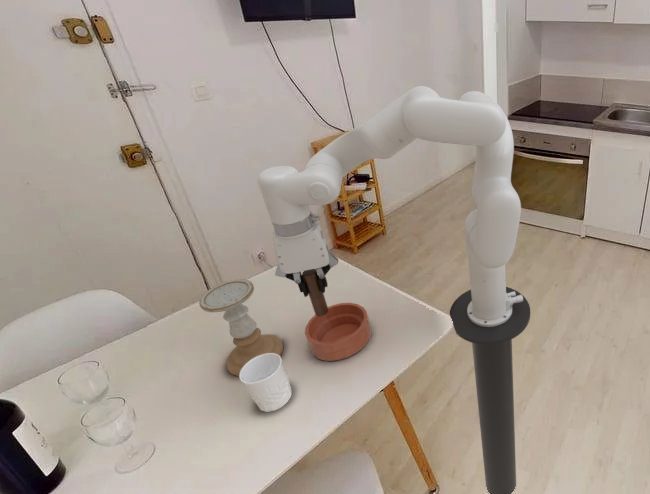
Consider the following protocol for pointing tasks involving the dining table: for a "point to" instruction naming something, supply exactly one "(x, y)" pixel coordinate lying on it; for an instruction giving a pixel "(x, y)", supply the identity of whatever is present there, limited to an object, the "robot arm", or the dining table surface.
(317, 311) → the dark brown cylinder
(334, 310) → the bowl
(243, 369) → the white cup
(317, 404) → the dining table surface
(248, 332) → the candle holder
